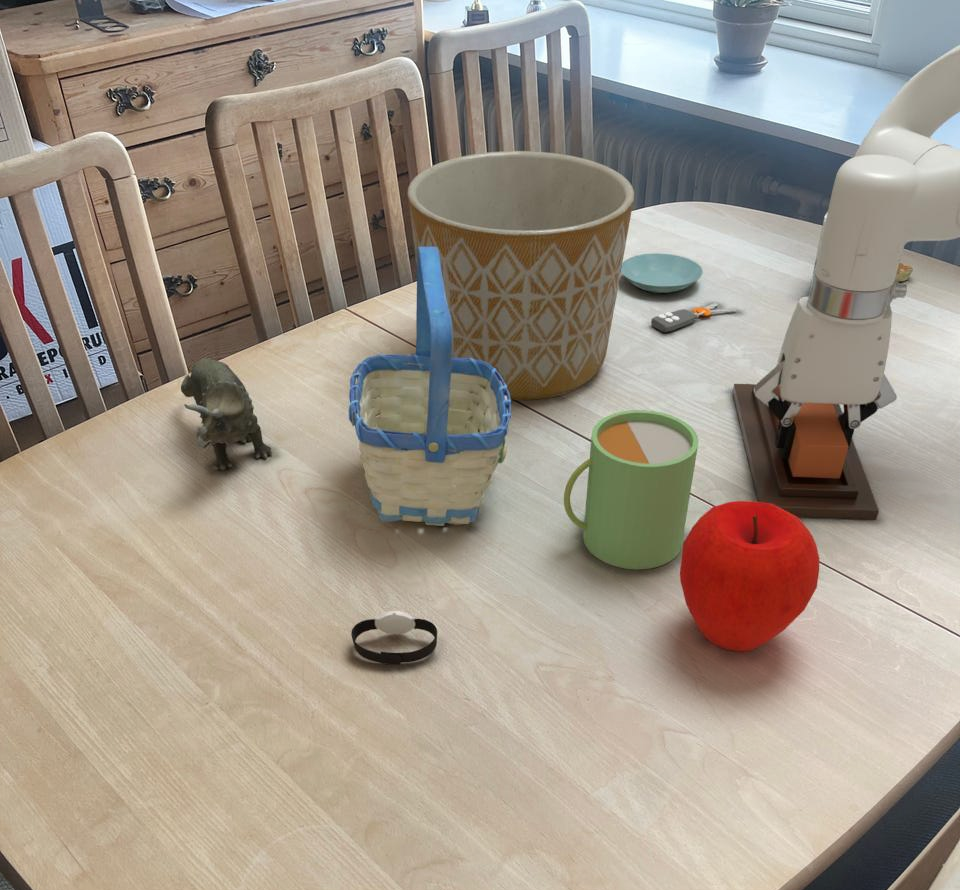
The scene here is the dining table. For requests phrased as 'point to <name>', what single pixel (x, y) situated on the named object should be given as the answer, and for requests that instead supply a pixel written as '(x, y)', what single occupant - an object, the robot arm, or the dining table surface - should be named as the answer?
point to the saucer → (661, 272)
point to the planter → (526, 261)
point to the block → (818, 443)
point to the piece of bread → (903, 272)
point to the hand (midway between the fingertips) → (809, 451)
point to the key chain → (683, 317)
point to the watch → (394, 625)
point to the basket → (429, 418)
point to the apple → (747, 573)
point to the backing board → (776, 478)
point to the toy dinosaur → (222, 410)
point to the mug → (636, 488)
